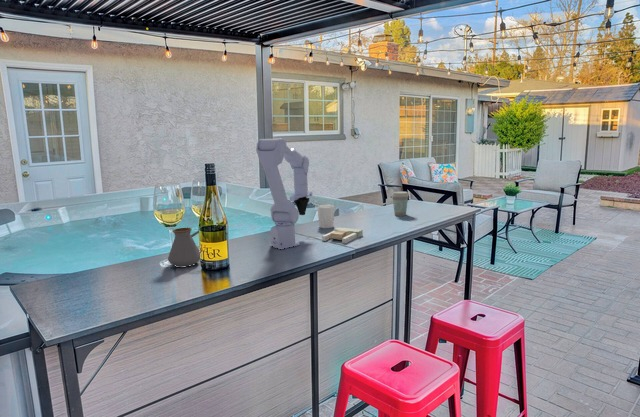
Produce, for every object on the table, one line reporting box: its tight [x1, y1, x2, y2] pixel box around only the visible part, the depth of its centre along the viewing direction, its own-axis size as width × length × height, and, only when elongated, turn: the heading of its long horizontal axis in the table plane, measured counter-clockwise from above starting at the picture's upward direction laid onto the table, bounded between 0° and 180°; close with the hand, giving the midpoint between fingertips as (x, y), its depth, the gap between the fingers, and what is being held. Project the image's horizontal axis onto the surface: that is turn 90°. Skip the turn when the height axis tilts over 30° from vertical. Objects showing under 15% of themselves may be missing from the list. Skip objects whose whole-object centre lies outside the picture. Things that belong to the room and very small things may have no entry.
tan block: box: [331, 230, 349, 242], centre depth 180 cm, size 7×5×3 cm
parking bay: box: [321, 227, 363, 244], centre depth 181 cm, size 14×12×2 cm
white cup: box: [317, 204, 335, 229], centre depth 202 cm, size 8×8×10 cm
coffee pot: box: [167, 227, 201, 266], centre depth 154 cm, size 21×12×15 cm, turn 128°
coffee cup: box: [391, 190, 409, 217], centre depth 223 cm, size 8×8×12 cm
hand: (302, 214), depth 186 cm, fingers closed
